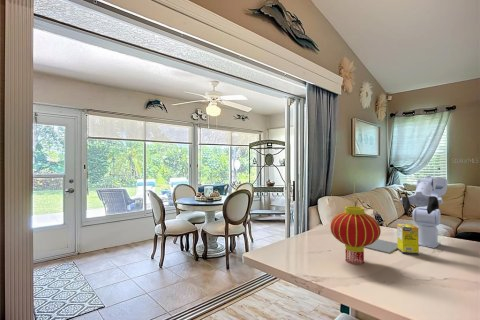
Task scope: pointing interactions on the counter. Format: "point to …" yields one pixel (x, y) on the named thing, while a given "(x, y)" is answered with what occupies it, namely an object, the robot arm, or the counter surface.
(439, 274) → the counter surface
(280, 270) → the counter surface
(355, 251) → the lantern
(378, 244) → the rubber mat
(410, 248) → the supplement box
